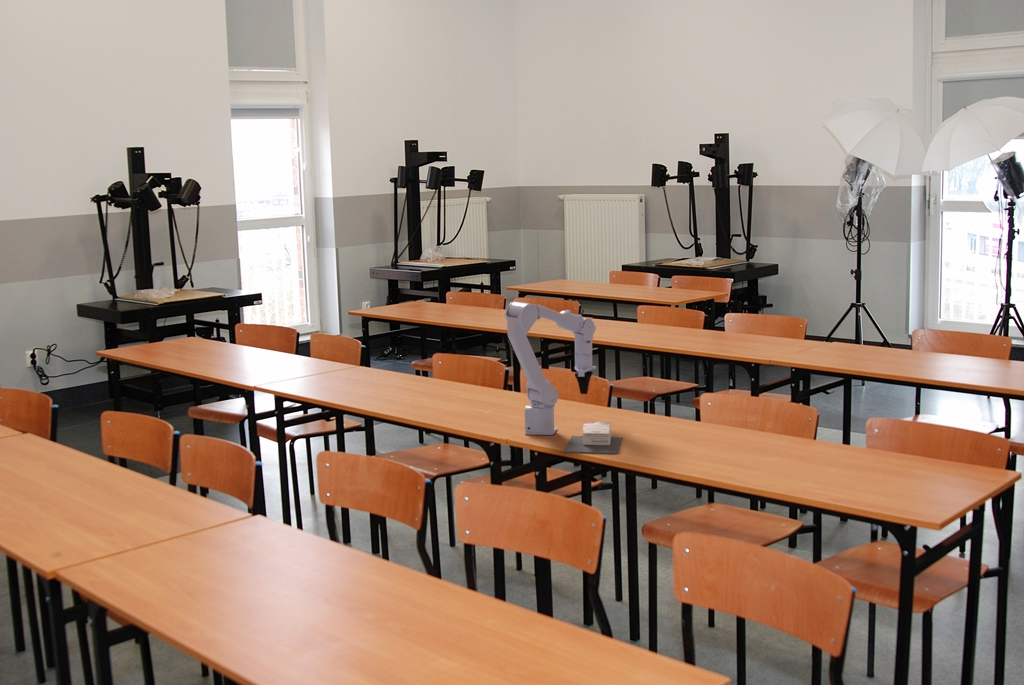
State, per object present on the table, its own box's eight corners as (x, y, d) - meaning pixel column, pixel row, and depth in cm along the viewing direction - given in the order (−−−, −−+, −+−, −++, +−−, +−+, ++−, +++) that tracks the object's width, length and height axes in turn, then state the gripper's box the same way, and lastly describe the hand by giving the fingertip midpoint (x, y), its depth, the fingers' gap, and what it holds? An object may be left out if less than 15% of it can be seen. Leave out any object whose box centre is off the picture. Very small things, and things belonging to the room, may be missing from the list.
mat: (564, 452, 296) (564, 451, 296) (571, 437, 314) (571, 435, 314) (617, 454, 293) (617, 452, 293) (622, 438, 311) (622, 437, 311)
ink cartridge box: (584, 436, 314) (581, 447, 299) (584, 421, 313) (581, 431, 298) (611, 436, 313) (610, 448, 298) (611, 421, 312) (610, 432, 297)
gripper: (593, 357, 318) (593, 398, 320) (597, 349, 332) (598, 389, 334) (571, 357, 319) (572, 398, 322) (577, 349, 333) (577, 388, 336)
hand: (583, 393), depth 328 cm, fingers closed
